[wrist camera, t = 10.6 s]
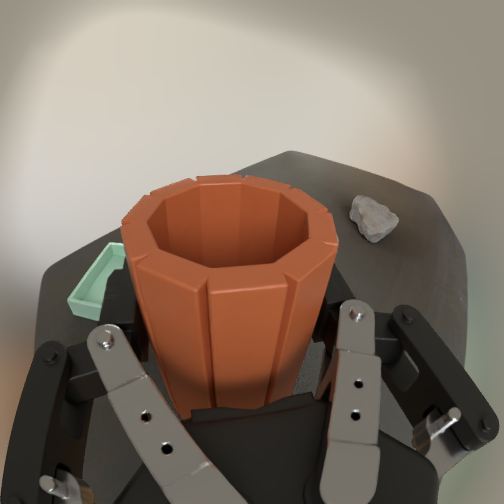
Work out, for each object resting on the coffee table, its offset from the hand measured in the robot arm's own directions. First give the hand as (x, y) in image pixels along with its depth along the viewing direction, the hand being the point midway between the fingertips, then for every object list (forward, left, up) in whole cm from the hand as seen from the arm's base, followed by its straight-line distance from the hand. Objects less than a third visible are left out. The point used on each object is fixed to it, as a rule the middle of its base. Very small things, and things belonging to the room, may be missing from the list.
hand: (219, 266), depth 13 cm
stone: (+21, +40, -21) cm, 50 cm away
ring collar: (+1, -2, -5) cm, 6 cm away
